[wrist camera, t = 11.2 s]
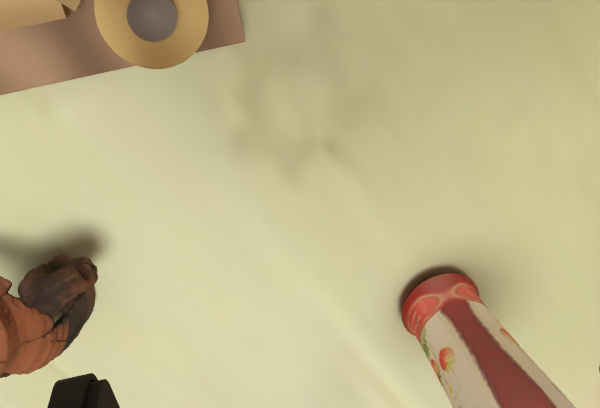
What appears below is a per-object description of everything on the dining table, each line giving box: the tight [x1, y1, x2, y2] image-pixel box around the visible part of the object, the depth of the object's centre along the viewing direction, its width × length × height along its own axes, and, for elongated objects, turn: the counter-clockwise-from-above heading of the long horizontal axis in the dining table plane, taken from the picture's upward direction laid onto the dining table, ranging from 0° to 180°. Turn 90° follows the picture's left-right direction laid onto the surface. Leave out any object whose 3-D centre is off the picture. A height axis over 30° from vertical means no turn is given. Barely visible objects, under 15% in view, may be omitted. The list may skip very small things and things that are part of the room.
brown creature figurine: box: [0, 254, 98, 378], centre depth 37 cm, size 12×10×8 cm
